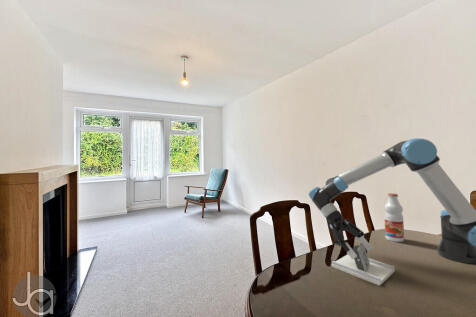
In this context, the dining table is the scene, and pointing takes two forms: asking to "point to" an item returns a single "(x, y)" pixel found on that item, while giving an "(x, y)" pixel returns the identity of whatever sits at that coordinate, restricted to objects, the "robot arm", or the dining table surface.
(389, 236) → the fruit juice
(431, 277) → the dining table surface
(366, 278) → the white tray
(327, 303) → the dining table surface
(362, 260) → the electrical switch
